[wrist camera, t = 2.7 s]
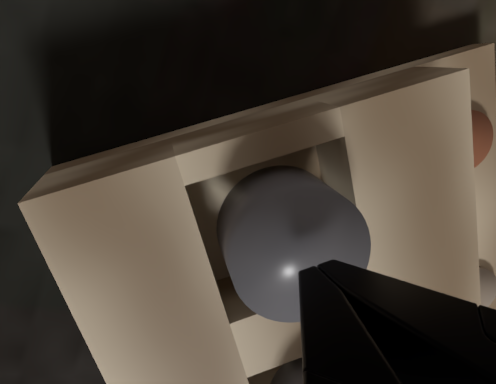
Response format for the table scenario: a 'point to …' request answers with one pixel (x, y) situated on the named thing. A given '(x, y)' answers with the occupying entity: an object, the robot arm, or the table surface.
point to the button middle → (289, 373)
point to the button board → (238, 167)
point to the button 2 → (285, 236)
